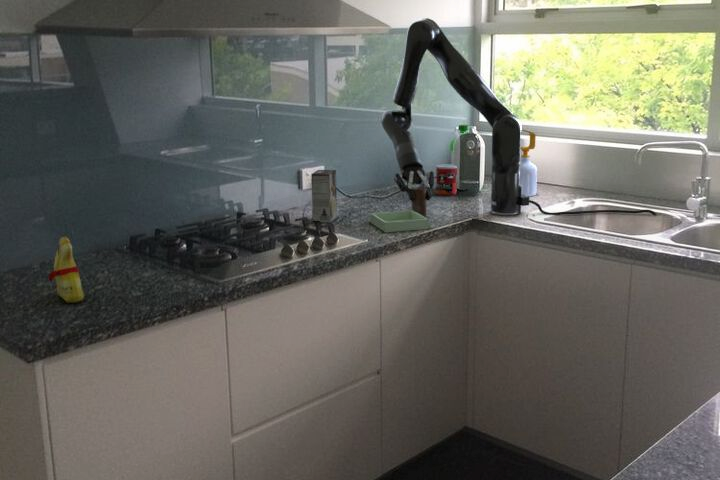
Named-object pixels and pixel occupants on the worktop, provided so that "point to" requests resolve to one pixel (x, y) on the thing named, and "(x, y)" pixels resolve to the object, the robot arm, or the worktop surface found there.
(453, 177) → the canned food
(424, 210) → the pepper mill
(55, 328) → the worktop surface
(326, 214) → the coffee box
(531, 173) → the soap bottle
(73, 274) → the chocolate bunny
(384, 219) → the tray
